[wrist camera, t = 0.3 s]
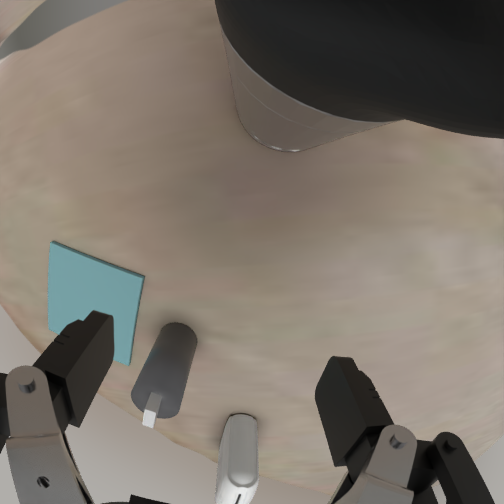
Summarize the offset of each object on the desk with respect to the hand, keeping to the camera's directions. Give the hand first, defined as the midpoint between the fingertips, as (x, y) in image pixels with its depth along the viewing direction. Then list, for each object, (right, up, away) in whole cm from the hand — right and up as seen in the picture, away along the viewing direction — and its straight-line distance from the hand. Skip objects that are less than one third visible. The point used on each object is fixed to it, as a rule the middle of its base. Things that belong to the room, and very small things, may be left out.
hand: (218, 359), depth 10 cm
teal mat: (-17, -2, +19) cm, 26 cm away
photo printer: (-1, -22, +25) cm, 33 cm away
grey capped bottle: (-7, -6, +20) cm, 22 cm away
